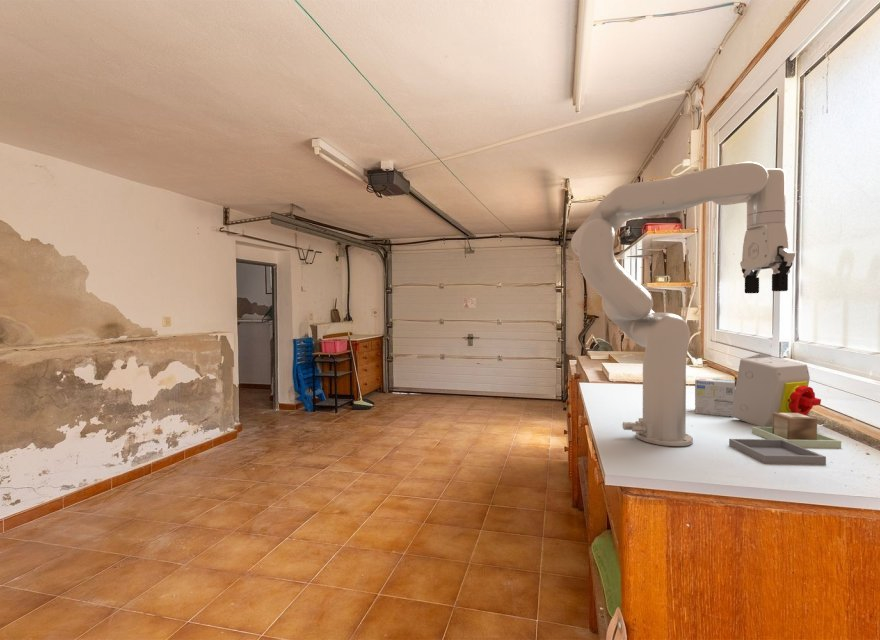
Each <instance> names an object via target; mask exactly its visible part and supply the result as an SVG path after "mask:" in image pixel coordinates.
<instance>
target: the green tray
mask: <svg viewBox="0 0 880 640" xmlns="http://www.w3.org/2000/svg"><path fill="white" fill-rule="evenodd" d="M772 429H773V427H761V426H751V434H753V435H756V436H759V437H760V438H762V439H763V438H764V439H775V440H785V441H788V442H790V443H793V444H795V445H798V446H800V447H803V448H805V449H812V448H813V449H842V441H841V440H839V439H837V438H833V437H830V436H827V435H825V434H821V433H818V432H817V440H787V439H785V438H782V437H780V436H777V435H774V434H772Z"/></svg>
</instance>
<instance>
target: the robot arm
mask: <svg viewBox="0 0 880 640" xmlns="http://www.w3.org/2000/svg"><path fill="white" fill-rule="evenodd" d="M786 180H787V179H786V172H785V171H784V170H783V169H782V168H774V167H773V168H765V166H763V165H762V164H760V163H759V162H754V161H753V162H752V161H744V162H736V163H730V164H724V165H719V166H714V167H710V168H706V169H702V170H697V171H693V172H688V173H685V174H681V175H677V176H673V177H668V178H667V177H666V178H661V179H655V180H654V179H653V180H648V181H639V182H633V183H627V184H622V185H619V186H618V187H616V188H614V189H613V190H611V191H610V192H609V193H608V194H607V195H606V196H605V197H603V199H602V200H601V201H600V202H599V204H598V205H597V206H596V207H595V208H594V209H593V211H592V212H591V213H590V215H589V216H588V217H587V218H586V219H585V220H584V221H583V222H582V224H580V226H579V227H578V228H577V229H576V231H575V232H574V233H573V234H572V237H571V241H570V246H571V250H572V251H573V253H574V254H575V255H576V256H577V257H578V262H579V268H580V272H581V274H582V276H583V277H584V279H585V281H586V283H588V285H589V286H590V287H591V288H592V289H593V290H594V291H595V292H596V293H597V294H598V295H599V296H600V297H601V307H602V310H603V312H604V313H605V315H606V316H607V317H608V319H609V320H610V321H612V323H613V324H615V326H617V327H618V328H619V329H620V330H621V331H622V332H623V333H624V334H625V335H626V336H627V337H628V338H629V339H630V340H632V341H633V342H634V343H635V344H636V345H639V346H640V347H642V348H645V351H644V355H643V361H642V417H639V418H638V420H635V422H631V421H630V422H629V421H623V422H622V430H624V431H632V432H635V437H636V438H637V439H639V440H640V441H643V442H646V443H648V444H654V445H656V446H657V445H658V446H664V447H665V446H666V447H687V446H690V445H692V444H693V443H694V439H693V437H692V435H690V434H688V433H687V432H686V429H687V428H686V420H687V419H686V418H687V417H686V415H687V413H686V412H687V411H686V407H687V405H686V403H687V402H686V401H687V399H686V398H687V396H686V395H687V391H686V390H687V377H686V376H687V371H686V370H687V358H688V357H687V356H688V351H689V345H690V340H691V331H690V328H689V325H688V323H687V322H686V321H685V319H684V318H682V316H680V315H678V314H675V313H672V312H655V311H654V310H653V307H654V299H653V296H652V295H651V293H650V292H649V291H648V290H647V288H645V287H644V286H643V285H642V284H640V282H638V281H637V280H636V279H635V278H634V277H633V275H631V274H630V273H629V272H627V270H625V268H624V266H622V265H621V264H620V263H619V262H618V261H617V258H616V256H615V252H614V246H615V245H614V244H615V240H616V233H617V232H618V231H619V229H620V228H621V227H622V226H623V225H624V223H625V222H627V221H629V220H632V219H636V218H637V219H638V218H645V217H651V216H657V215H666V214H674V213H679V212H682V211H685V210H688V209H691V208H694V207H695V206H698V205H702V204H704V203H708V202H711V201H712V202H713V203H714V204H716V205H720V206H729V205H730V206H731V205H736V204H743V203H746V231H745V234H744V238H743V243H742V244H743V245H742V255H741V257H742V258H741V261H740V268H741V273H742V274H743V276H742V277H743V278H744V293H745V294H758V293H760V277H758V275H759V274H760V272H761V270H767V269H771V270H772V271H773V273H772V274H771V291H772V292H787V291H788V290H789V274H790V272H791V268H792V266H793V261H794V260H795V259H794V258H795V256H796V252H794V251H792V250H790V249H789V241H788V240H789V239H788V232H787V226H786V189H787V188H786V186H787V185H786V182H787V181H786Z"/></svg>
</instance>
